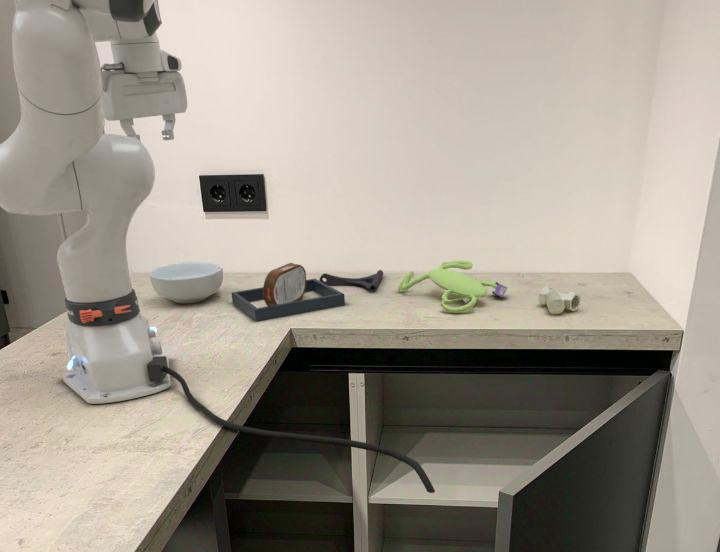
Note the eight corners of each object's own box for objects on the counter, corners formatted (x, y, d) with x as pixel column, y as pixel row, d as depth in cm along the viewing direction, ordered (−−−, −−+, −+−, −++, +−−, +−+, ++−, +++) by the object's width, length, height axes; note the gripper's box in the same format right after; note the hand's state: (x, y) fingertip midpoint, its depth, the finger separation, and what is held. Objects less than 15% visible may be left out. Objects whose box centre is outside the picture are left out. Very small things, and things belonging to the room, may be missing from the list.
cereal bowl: (174, 313, 165) (168, 282, 162) (142, 300, 176) (137, 270, 173) (239, 297, 174) (235, 267, 171) (205, 286, 185) (200, 257, 182)
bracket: (325, 277, 187) (324, 266, 185) (383, 276, 185) (382, 265, 183) (314, 293, 174) (313, 281, 173) (376, 292, 172) (376, 280, 171)
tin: (298, 294, 174) (295, 258, 170) (310, 295, 172) (307, 259, 168) (263, 312, 162) (259, 274, 158) (275, 314, 161) (271, 275, 157)
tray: (345, 304, 164) (344, 293, 163) (255, 321, 157) (254, 309, 156) (315, 288, 178) (315, 278, 177) (232, 303, 170) (231, 292, 169)
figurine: (457, 277, 180) (458, 254, 177) (524, 301, 159) (526, 275, 156) (391, 289, 173) (390, 265, 171) (452, 316, 152) (452, 289, 150)
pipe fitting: (559, 319, 149) (580, 309, 152) (560, 300, 147) (581, 290, 150) (528, 311, 154) (548, 302, 157) (528, 293, 152) (549, 284, 155)
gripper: (109, 62, 129) (125, 148, 136) (186, 60, 144) (198, 137, 151) (84, 64, 132) (101, 148, 139) (162, 61, 147) (174, 137, 154)
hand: (152, 142), depth 145 cm, fingers open, 8 cm apart
